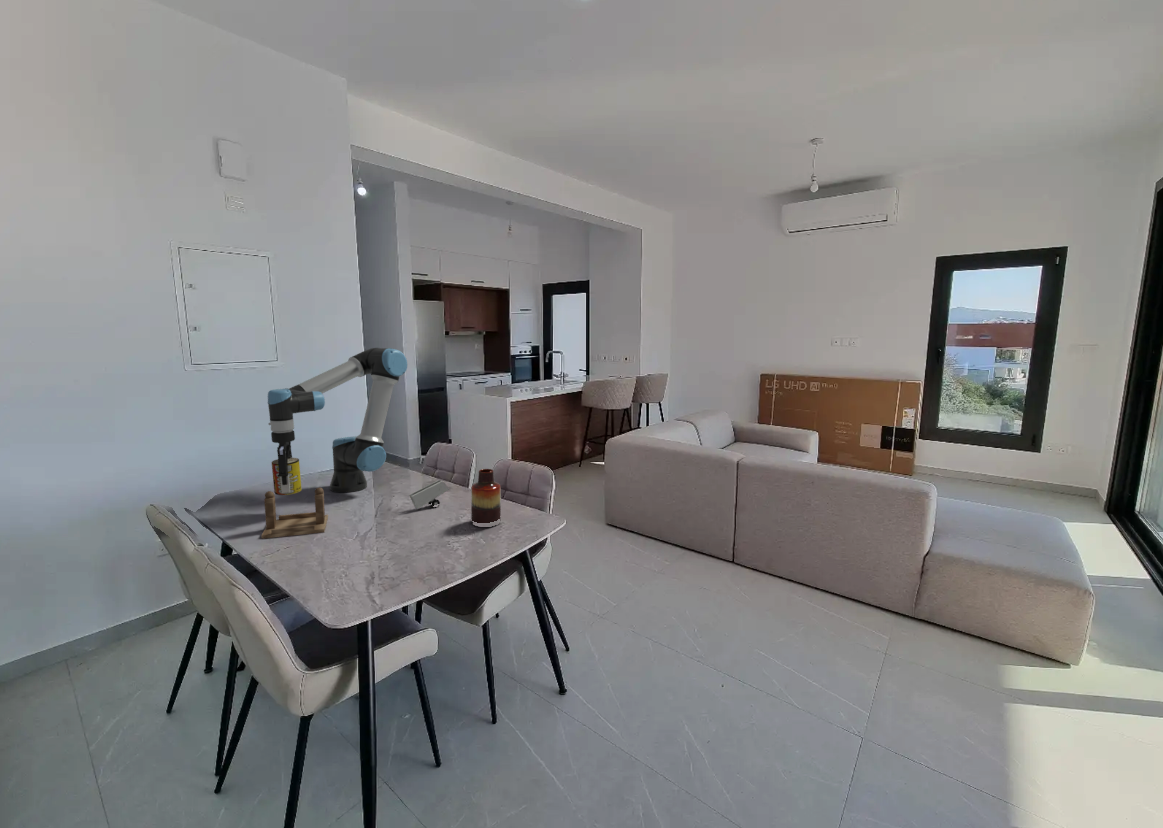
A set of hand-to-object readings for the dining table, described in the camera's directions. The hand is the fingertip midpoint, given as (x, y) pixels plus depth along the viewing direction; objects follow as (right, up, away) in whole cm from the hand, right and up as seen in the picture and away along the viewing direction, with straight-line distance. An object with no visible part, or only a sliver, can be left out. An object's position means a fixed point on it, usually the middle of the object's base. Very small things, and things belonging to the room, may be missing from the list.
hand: (288, 488), depth 195 cm
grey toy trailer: (+45, -8, +9) cm, 47 cm away
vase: (+76, -13, -2) cm, 77 cm away
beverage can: (0, -1, 0) cm, 1 cm away
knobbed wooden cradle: (+10, -12, -12) cm, 20 cm away
